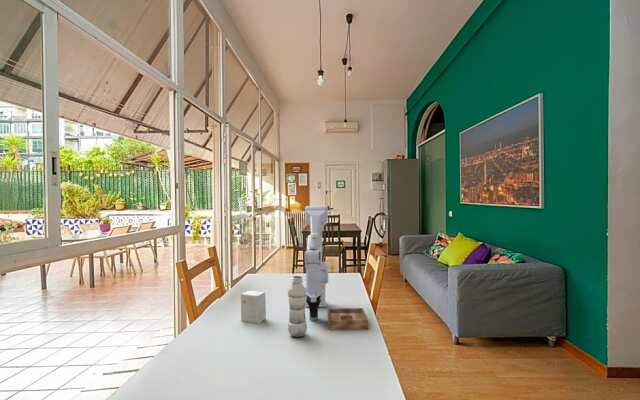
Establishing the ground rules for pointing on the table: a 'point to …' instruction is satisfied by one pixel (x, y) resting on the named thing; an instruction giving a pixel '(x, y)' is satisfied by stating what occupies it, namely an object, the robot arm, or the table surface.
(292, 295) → the plastic bottle
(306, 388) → the table surface
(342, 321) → the crate
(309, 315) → the peg
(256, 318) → the small box
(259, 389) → the table surface
